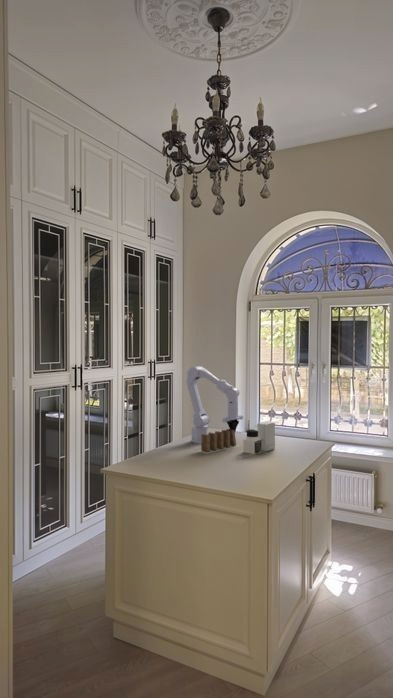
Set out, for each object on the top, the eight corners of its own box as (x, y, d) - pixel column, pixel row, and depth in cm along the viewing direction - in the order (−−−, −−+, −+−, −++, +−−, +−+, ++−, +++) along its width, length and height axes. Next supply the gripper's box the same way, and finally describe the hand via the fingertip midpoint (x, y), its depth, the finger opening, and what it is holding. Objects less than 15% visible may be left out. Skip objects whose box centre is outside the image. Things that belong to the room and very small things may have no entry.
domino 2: (215, 447, 252) (215, 431, 252) (217, 447, 253) (217, 431, 253) (221, 449, 248) (221, 432, 248) (223, 448, 249) (223, 432, 249)
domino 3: (221, 446, 255) (221, 430, 255) (223, 445, 256) (223, 429, 256) (227, 447, 251) (227, 431, 251) (230, 447, 252) (229, 431, 252)
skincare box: (267, 447, 254) (267, 420, 253) (275, 449, 249) (275, 422, 248) (256, 449, 248) (256, 422, 248) (265, 451, 244) (265, 424, 243)
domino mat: (196, 451, 245) (196, 450, 245) (230, 443, 262) (230, 443, 262) (206, 454, 239) (206, 453, 239) (241, 446, 256) (241, 445, 256)
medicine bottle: (254, 454, 238) (254, 431, 237) (243, 452, 242) (243, 430, 242) (261, 452, 244) (261, 429, 243) (250, 450, 248) (250, 427, 247)
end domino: (201, 450, 245) (201, 434, 245) (203, 450, 246) (203, 433, 246) (207, 452, 241) (207, 435, 241) (209, 452, 242) (209, 435, 242)
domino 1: (208, 449, 249) (208, 432, 248) (210, 448, 250) (210, 432, 249) (214, 450, 245) (214, 434, 244) (216, 450, 246) (216, 433, 246)
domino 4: (227, 444, 258) (225, 429, 257) (229, 443, 259) (227, 428, 258) (234, 446, 255) (232, 430, 253) (236, 445, 256) (234, 430, 254)
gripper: (228, 411, 249) (228, 436, 249) (246, 408, 259) (246, 432, 259) (219, 410, 254) (219, 434, 255) (237, 407, 264) (237, 430, 264)
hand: (232, 433), depth 257 cm, fingers closed
